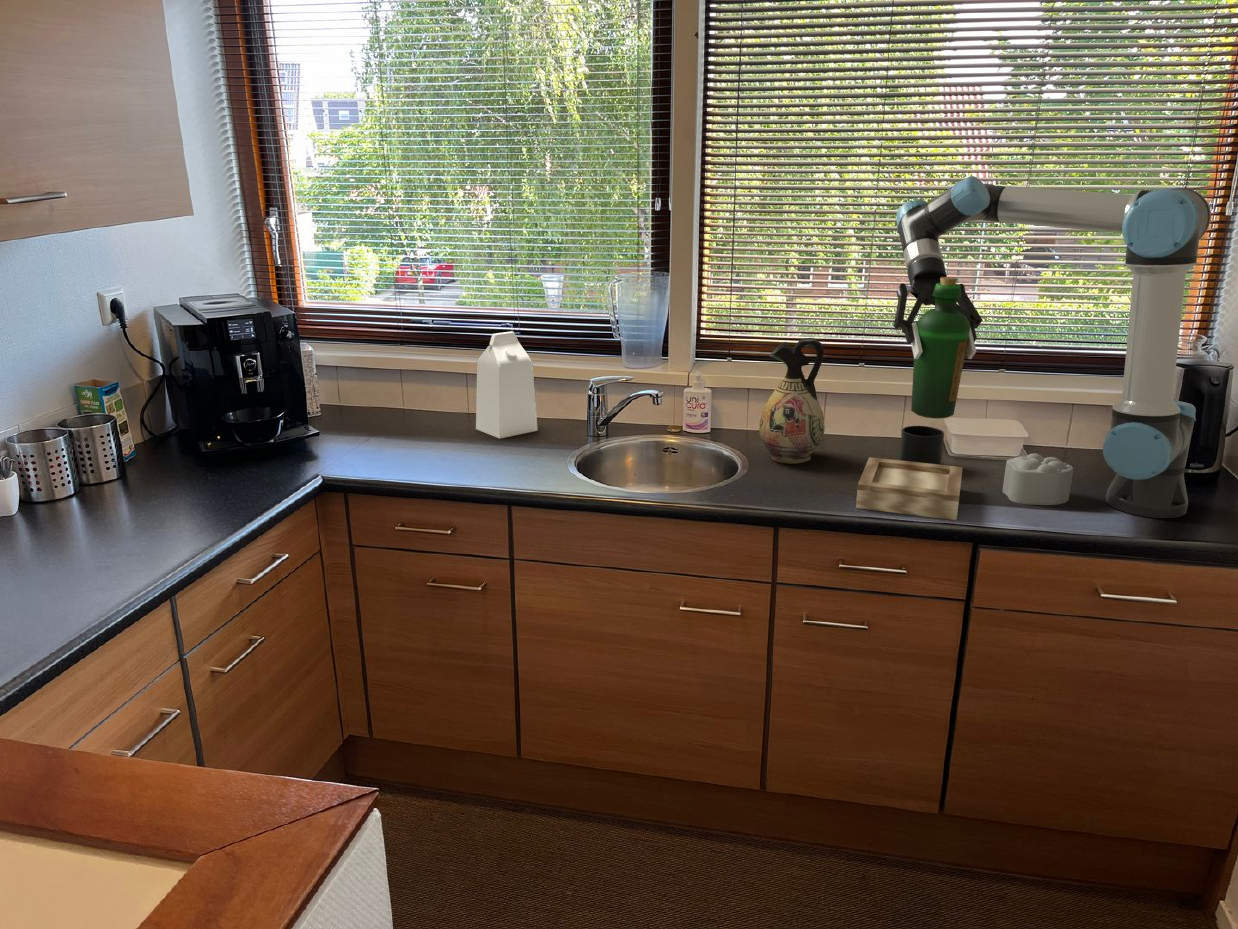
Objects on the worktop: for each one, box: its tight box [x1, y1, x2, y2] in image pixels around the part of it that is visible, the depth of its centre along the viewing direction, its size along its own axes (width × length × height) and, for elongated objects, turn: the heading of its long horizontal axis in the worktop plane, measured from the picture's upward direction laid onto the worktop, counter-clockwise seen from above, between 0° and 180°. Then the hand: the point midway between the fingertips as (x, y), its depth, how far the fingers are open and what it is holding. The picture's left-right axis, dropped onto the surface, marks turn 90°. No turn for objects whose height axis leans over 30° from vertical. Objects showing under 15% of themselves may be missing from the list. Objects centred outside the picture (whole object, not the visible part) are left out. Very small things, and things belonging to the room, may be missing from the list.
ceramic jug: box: [758, 337, 825, 465], centre depth 229 cm, size 17×15×30 cm
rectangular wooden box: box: [855, 456, 964, 521], centre depth 206 cm, size 20×20×5 cm
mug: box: [898, 425, 945, 465], centre depth 227 cm, size 9×12×9 cm
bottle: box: [910, 276, 971, 420], centre depth 196 cm, size 11×11×28 cm
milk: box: [475, 331, 538, 439], centre depth 253 cm, size 12×12×26 cm
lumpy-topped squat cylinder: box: [1002, 453, 1074, 506], centre depth 207 cm, size 10×13×9 cm
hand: (945, 355), depth 193 cm, fingers closed on bottle, 10 cm apart
